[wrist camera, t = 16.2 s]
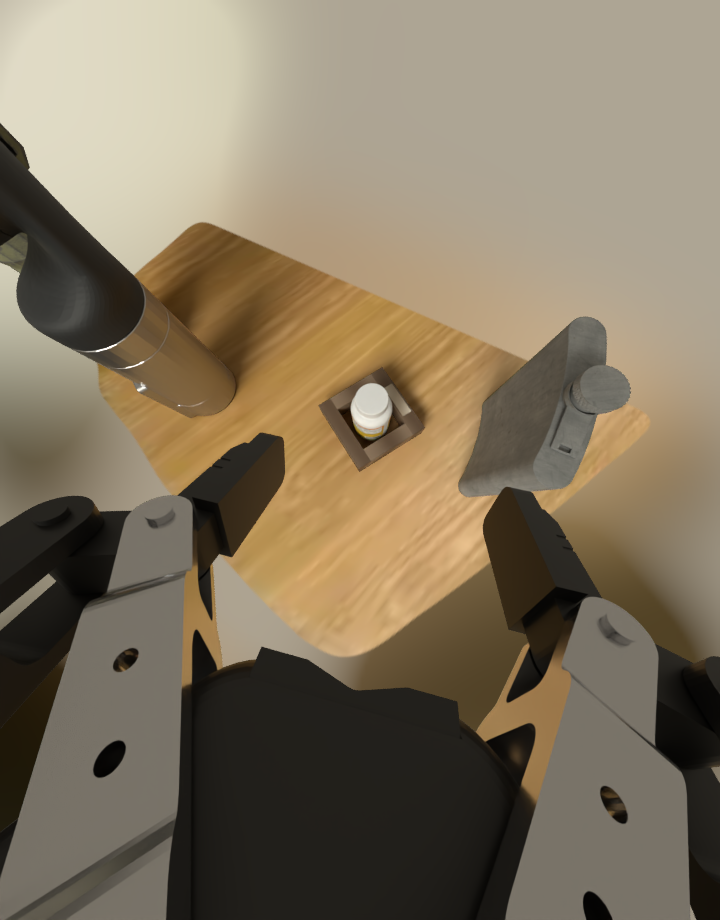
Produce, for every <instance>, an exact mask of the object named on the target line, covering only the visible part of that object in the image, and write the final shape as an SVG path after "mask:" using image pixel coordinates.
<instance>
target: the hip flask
mask: <svg viewBox="0 0 720 920" xmlns="http://www.w3.org/2000/svg"><path fill="white" fill-rule="evenodd" d="M606 341H607V340H606V330H605V328H604V326H603V325H602V324H601V323H600V322H599V321H598V320H596V319H594V318H591V317H579V318H577V319H575V320H573V321H572V322H571V323H570V324H569V325H568V326H567V327H566V328H565V329H564V330H563V331H561V332H560V333H559V334H558V335H557V336H556V337H555V338H554V339H553V340H551V341H550V342H549V343H548V344H547V345H546V346H545V347H544V348H543V349H542V350H541V351H539V352H538V353H537V354H536V355H535V356H534V357H533V358H532V359H531V360H530V361H528V362H527V363H526V364H525V365H524V366H523V367H522V368H521V369H520V370H519V371H517V372H516V373H515V374H514V375H513V376H512V377H511V378H510V379H509V380H508V381H506V382H505V383H504V384H503V385H502V386H501V387H500V388H499V389H498V390H497V391H495V392H494V393H493V394H492V395H491V396H490V397H489V398H488V399H487V400H486V401H485V402H484V403H483V405H482V415H481V423H480V428H479V433H478V437H477V440H476V444H475V447H474V450H473V453H472V456H471V458H470V461H469V463H468V465H467V468H466V470H465V472H464V474H463V475H462V477H461V479H460V481H459V484H458V487H459V491H460V492H461V493H462V494H463V495H464V496H466V497H478V496H489V495H499V494H500V492H501V491H502V489H503V488H505V487H511V488H516V489H521V490H525V491H530V492H531V491H542V490H553V489H561V488H564V487H566V486H568V485H569V484H570V483H571V481H572V480H573V478H574V476H575V474H576V472H577V470H578V468H579V465H580V463H581V461H582V459H583V456H584V454H585V451H586V448H587V446H588V443H589V440H590V437H591V434H592V431H593V428H594V424H595V421H596V417H597V415H598V414H603V413H607V412H611V411H613V410H616V409H618V408H620V407H622V406H623V405H625V404H626V402H627V401H628V399H629V398H630V393H631V392H630V389H631V388H630V384H629V382H628V380H627V379H626V377H625V376H624V375H623V374H622V373H621V372H620V371H618V370H617V369H615V368H613V367H610V366H606V349H607V348H606V347H607V345H606V344H607V342H606Z"/></svg>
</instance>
